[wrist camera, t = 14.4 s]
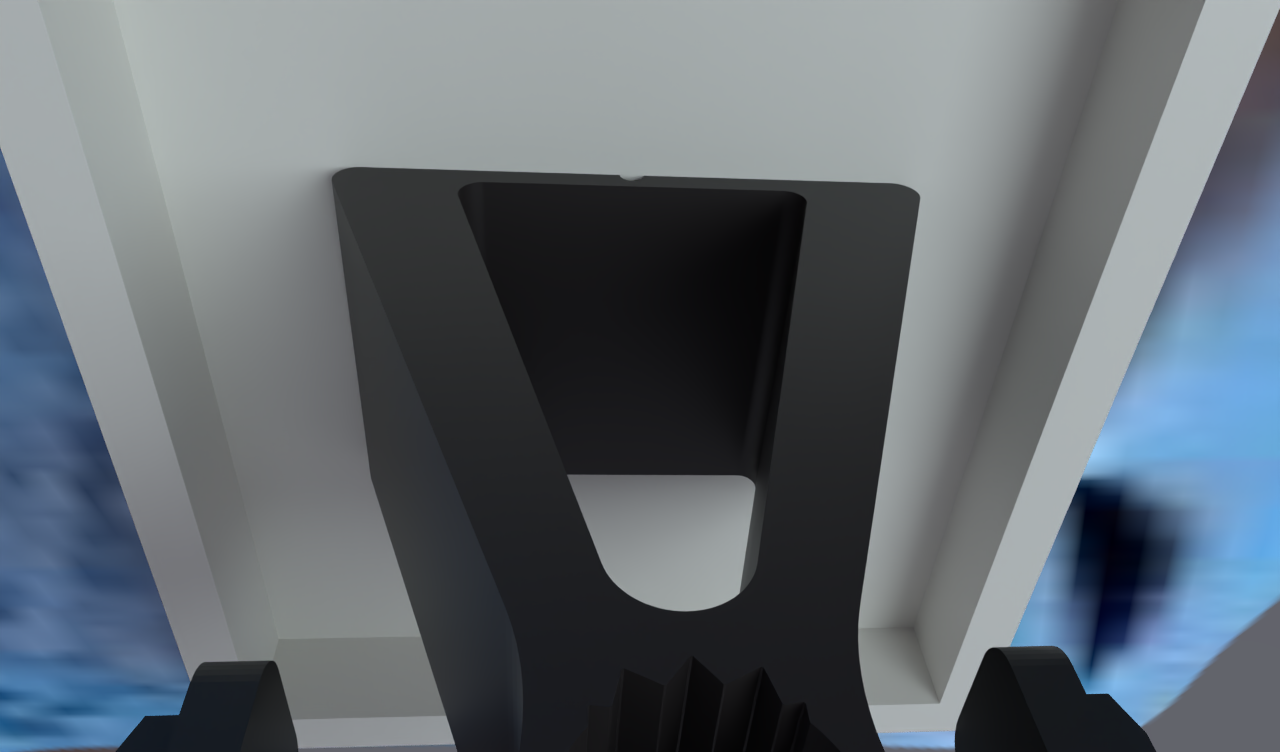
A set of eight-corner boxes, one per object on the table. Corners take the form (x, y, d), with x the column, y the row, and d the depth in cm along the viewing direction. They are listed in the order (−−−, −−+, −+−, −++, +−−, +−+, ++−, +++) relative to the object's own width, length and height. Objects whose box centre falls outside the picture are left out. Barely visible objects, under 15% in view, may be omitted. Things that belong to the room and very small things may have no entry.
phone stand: (371, 460, 19) (174, 1335, 9) (336, 162, 15) (-45, 1091, 6) (843, 464, 20) (1109, 1271, 10) (915, 184, 16) (1436, 1025, 6)
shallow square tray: (217, 653, 24) (175, 779, 21) (-134, -439, 12) (-328, -453, 9) (961, 639, 25) (1006, 755, 23) (1331, -348, 13) (1518, -339, 11)
